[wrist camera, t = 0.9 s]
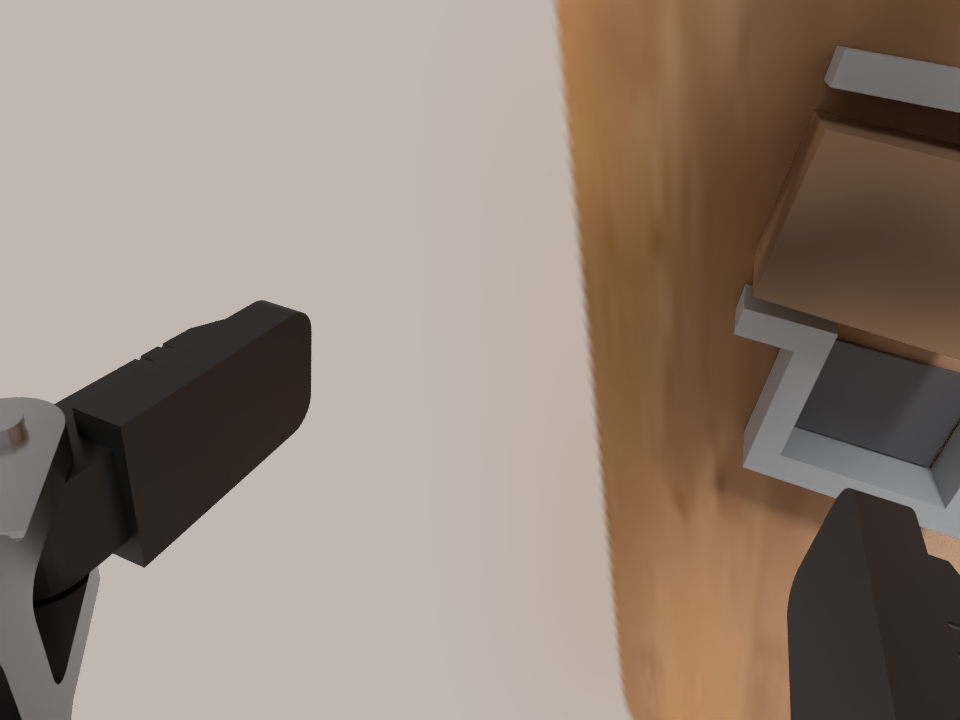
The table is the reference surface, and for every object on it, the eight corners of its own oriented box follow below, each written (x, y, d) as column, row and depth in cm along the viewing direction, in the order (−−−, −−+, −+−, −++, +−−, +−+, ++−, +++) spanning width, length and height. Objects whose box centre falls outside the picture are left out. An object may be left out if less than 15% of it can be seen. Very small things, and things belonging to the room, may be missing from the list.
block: (814, 109, 22) (825, 129, 18) (1054, 167, 20) (1122, 202, 16) (754, 252, 24) (752, 296, 20) (962, 314, 23) (1003, 373, 19)
